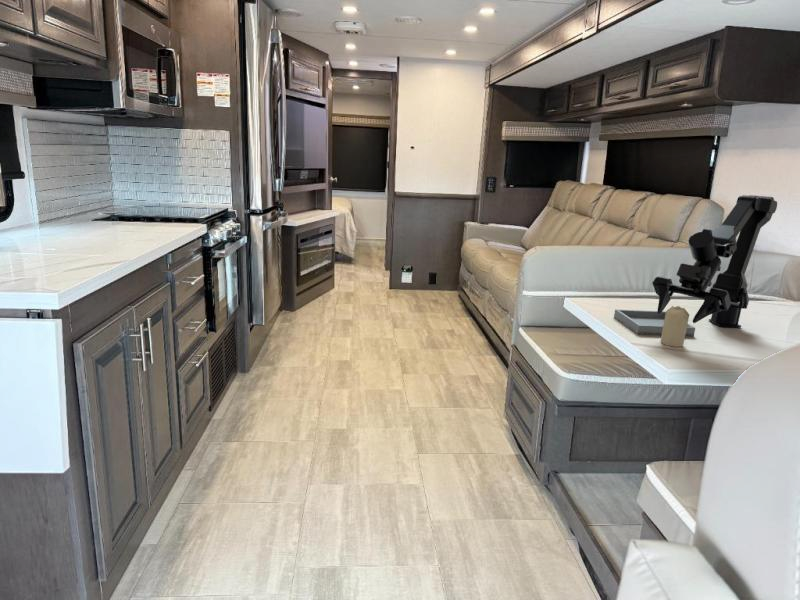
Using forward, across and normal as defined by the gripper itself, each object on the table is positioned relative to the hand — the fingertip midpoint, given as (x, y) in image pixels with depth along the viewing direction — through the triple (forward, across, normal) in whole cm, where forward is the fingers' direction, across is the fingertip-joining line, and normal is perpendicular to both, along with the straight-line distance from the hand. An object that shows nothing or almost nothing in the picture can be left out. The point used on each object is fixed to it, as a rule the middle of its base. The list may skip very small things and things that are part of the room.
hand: (675, 317), depth 144 cm
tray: (-3, -11, +13) cm, 17 cm away
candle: (+5, 0, +6) cm, 8 cm away
